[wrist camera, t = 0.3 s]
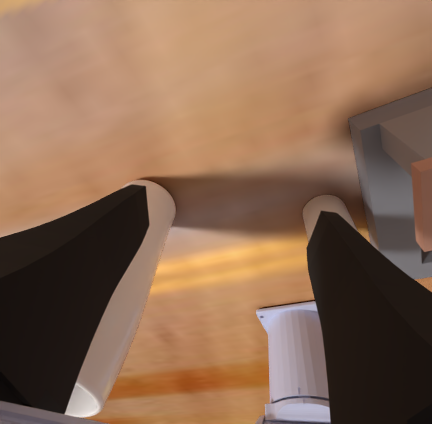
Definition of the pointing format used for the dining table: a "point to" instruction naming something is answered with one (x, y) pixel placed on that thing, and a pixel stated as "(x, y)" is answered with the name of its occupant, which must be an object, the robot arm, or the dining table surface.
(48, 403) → the robot arm
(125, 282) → the cream rounded cylinder
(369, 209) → the socket station
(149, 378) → the dining table surface
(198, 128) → the dining table surface
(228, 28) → the dining table surface
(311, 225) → the peg
